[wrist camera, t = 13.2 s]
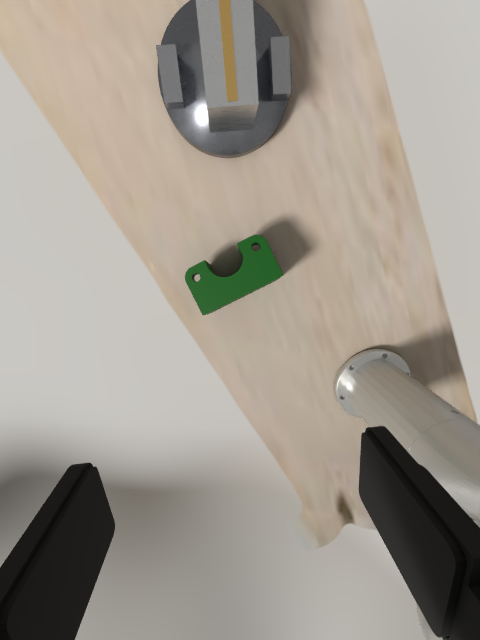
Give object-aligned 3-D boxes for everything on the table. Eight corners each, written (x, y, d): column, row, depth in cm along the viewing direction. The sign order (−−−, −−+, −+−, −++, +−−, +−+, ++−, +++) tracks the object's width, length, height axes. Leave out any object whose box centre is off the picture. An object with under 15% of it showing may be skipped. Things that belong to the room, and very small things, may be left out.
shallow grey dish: (285, -2, 29) (292, -29, 26) (290, 152, 33) (296, 144, 30) (149, 7, 28) (141, -19, 26) (172, 163, 33) (168, 155, 30)
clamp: (248, 252, 41) (273, 226, 32) (265, 286, 41) (294, 269, 32) (178, 281, 37) (185, 260, 28) (197, 319, 37) (210, 310, 29)
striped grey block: (245, 21, 28) (250, -37, 22) (251, 129, 31) (258, 103, 25) (198, 24, 28) (192, -34, 22) (209, 132, 31) (207, 107, 25)
